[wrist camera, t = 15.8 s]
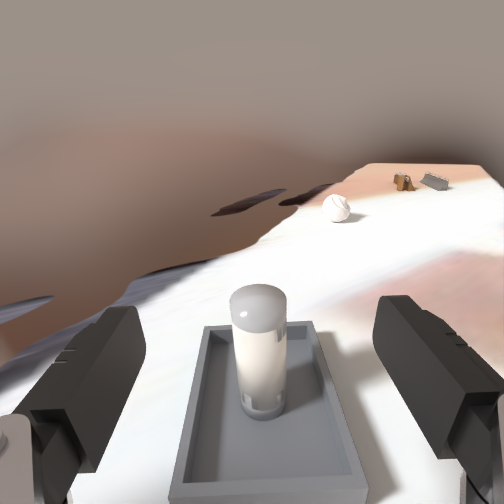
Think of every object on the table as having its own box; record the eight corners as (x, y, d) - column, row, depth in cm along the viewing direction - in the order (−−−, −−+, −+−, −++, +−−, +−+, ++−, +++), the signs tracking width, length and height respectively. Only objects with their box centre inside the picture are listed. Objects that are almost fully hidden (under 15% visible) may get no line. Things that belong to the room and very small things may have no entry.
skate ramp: (466, 195, 100) (472, 174, 97) (366, 196, 106) (368, 176, 103) (432, 180, 126) (436, 164, 123) (353, 182, 132) (354, 166, 129)
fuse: (239, 422, 25) (227, 318, 20) (240, 379, 29) (231, 285, 24) (288, 420, 25) (290, 316, 20) (283, 378, 29) (283, 282, 24)
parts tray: (175, 520, 20) (167, 498, 18) (207, 344, 36) (204, 326, 34) (363, 510, 20) (369, 487, 18) (310, 339, 36) (311, 320, 34)
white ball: (347, 226, 74) (350, 198, 71) (319, 224, 77) (320, 197, 74) (350, 218, 81) (352, 191, 77) (324, 216, 83) (325, 191, 80)
